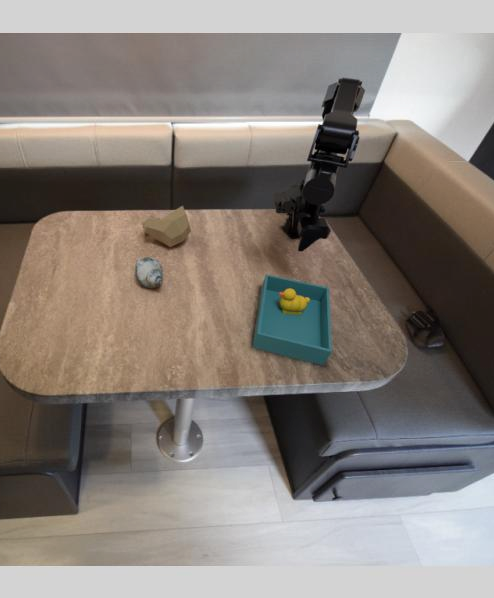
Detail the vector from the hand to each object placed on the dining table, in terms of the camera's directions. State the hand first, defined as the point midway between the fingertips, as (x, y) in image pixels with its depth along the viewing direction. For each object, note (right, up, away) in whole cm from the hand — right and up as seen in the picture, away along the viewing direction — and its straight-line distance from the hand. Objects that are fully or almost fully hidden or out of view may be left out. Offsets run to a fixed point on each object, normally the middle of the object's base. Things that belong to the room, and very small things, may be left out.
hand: (297, 239), depth 88 cm
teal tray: (-4, -21, -5) cm, 22 cm away
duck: (-2, -18, -2) cm, 18 cm away
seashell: (-38, -10, +5) cm, 39 cm away
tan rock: (-33, +2, +17) cm, 37 cm away
